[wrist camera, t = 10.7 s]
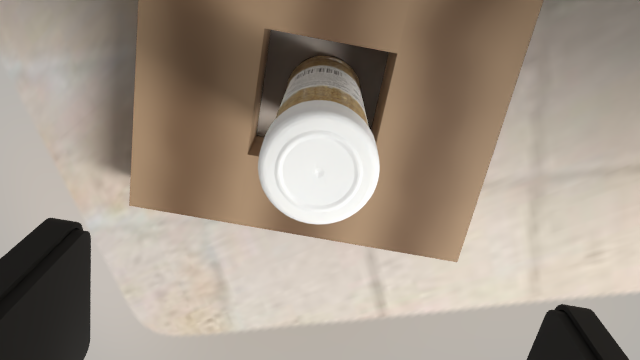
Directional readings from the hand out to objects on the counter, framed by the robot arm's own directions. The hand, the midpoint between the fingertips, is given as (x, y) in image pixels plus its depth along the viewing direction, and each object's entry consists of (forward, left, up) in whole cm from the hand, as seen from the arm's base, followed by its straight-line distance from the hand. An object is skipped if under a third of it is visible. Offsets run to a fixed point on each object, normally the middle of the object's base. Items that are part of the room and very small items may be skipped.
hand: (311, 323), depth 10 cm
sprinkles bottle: (0, 0, -23) cm, 23 cm away
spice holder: (0, 0, -22) cm, 22 cm away
